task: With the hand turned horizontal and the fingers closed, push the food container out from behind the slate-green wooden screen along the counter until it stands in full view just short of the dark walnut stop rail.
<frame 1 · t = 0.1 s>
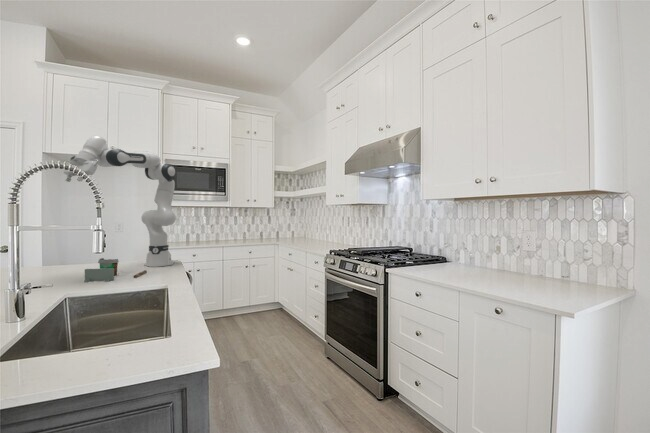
hand: (73, 181, 172), 54 cm above the worktop, tool tilted 30°, fingers open, 8 cm apart
stop rail: (140, 275, 190), on the worktop
screen: (99, 280, 175), on the worktop
food container: (105, 276, 187), on the worktop
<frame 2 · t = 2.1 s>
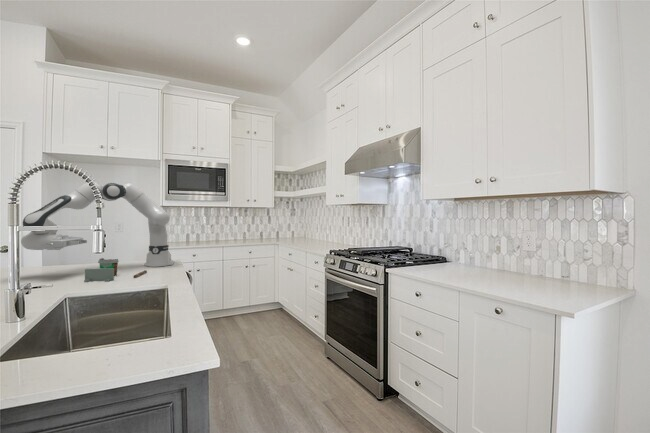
hand: (82, 242, 185), 20 cm above the worktop, tool horizontal, fingers open, 5 cm apart
nothing on the worktop moved.
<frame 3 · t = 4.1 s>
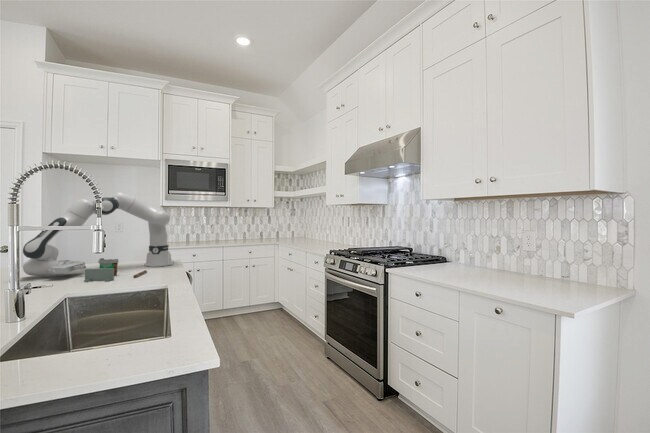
hand: (84, 267, 185), 5 cm above the worktop, tool horizontal, fingers closed
nothing on the worktop moved.
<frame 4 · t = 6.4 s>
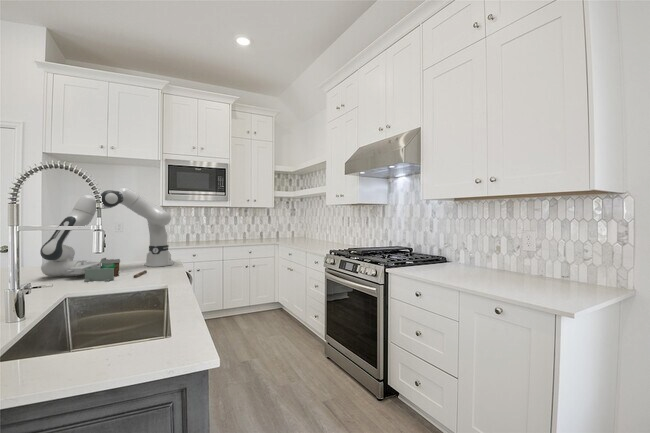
hand: (101, 267, 187), 5 cm above the worktop, tool horizontal, fingers closed
food container: (107, 276, 187), on the worktop, touching gripper
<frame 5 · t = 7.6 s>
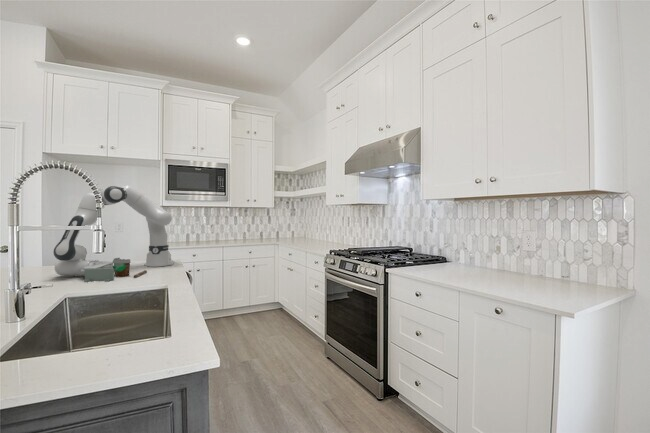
hand: (114, 267, 188), 5 cm above the worktop, tool horizontal, fingers closed
food container: (119, 276, 188), on the worktop, touching gripper
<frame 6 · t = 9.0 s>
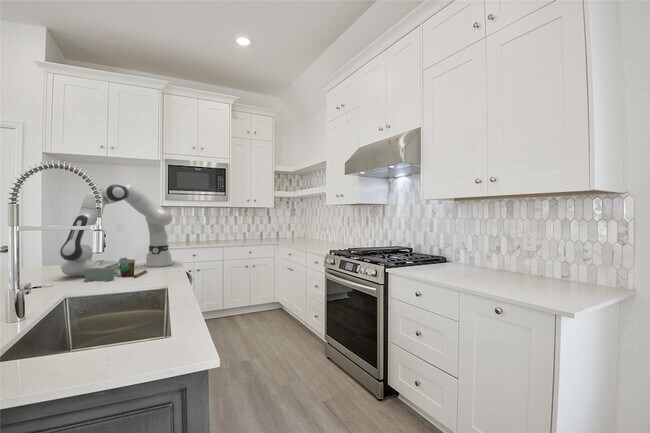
hand: (120, 267, 188), 5 cm above the worktop, tool horizontal, fingers closed
food container: (124, 276, 188), on the worktop, touching gripper
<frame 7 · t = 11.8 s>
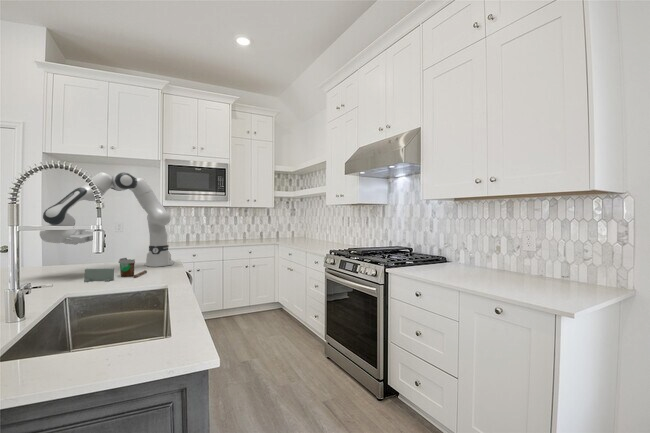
hand: (100, 238, 187), 22 cm above the worktop, tool horizontal, fingers closed
food container: (124, 276, 188), on the worktop
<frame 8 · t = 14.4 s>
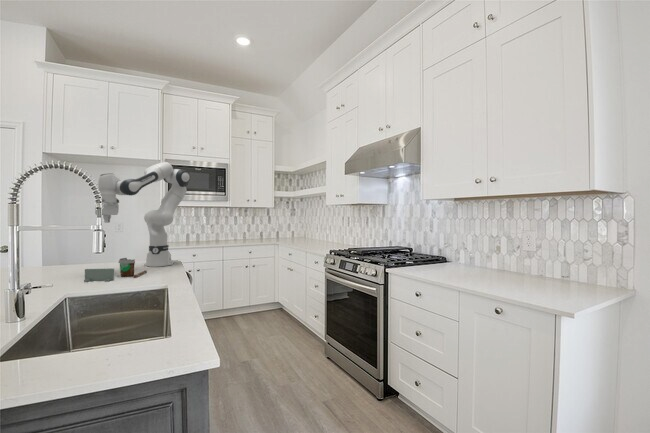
hand: (107, 222, 194), 31 cm above the worktop, tool pointing down, fingers closed
nothing on the worktop moved.
at the end: food container inside the target area (0.9 cm from its centre), on the worktop; food container tilted 0°; food container moved 10.7 cm from its start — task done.
